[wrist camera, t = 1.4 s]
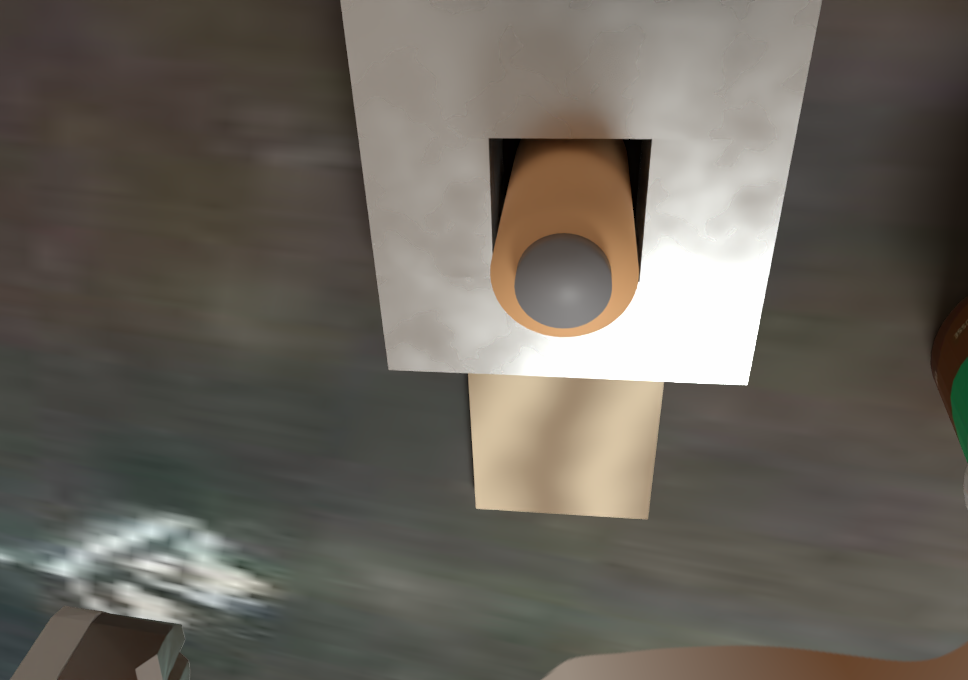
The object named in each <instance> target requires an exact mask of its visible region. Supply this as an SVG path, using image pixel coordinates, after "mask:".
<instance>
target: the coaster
mask: <svg viewBox="0 0 968 680" xmlns="http://www.w3.org/2000/svg"><path fill="white" fill-rule="evenodd" d="M468 381H469V398H470V415H471V432H472V448H473V465H474V482H475V499H476V509H491V510H507V511H522V512H538V513H554V514H570V515H586V516H602V517H618V518H634V519H648V513H649V504H650V496H651V487H652V479H653V470H654V462H655V453H656V445H657V437H658V428H659V420H660V411H661V403H662V394H663V386H664V381H642V380H618V379H594V378H571V377H547V376H523V375H499V374H475V373H468Z"/></svg>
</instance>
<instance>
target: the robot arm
mask: <svg viewBox="0 0 968 680" xmlns="http://www.w3.org/2000/svg"><path fill="white" fill-rule="evenodd" d="M184 641H185V637H184V633H183V628H182V625H181V624H174V623H168V622H162V621H155V620H149V619H142V618H136V617H129V616H123V615H116V614H110V613H107V612H103V611H96V610H89V609H82V608H75V607H68V606H64V607H63V608H62V609H60V610H59V611H58V612H57V613H56V614H55V615H54V616H53V617H52V618H51V619H50V620H49V622H48V623H47V625H46V626H45V628H44V629H43V631H42V632H41V634H40V635H39V637H38V638H37V640H36V641H35V643H34V644H33V646H32V647H31V649H30V650H29V652H28V653H27V655H26V656H25V658H24V659H23V661H22V662H21V664H20V665H19V667H18V668H17V670H16V671H15V673H14V674H13V676H12V677H11V679H10V680H190V666H189V660H188V659H187V658H186V657H185V656H183V655H182V654H181V653H180V650H181V648H182V646H183V643H184Z"/></svg>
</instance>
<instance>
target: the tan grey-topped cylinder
mask: <svg viewBox="0 0 968 680" xmlns="http://www.w3.org/2000/svg"><path fill="white" fill-rule="evenodd" d="M490 278H491V284H492V288H493V291H494V294H495V296H496V298H497V300H498V302H499V304H500V305H501V307H502V308H503V309H504V310H505V312H506V313H507V314H508V315H509V316H510V317H511V318H512V319H514V320H515V321H516V322H518V323H519V324H521V325H522V326H524V327H526V328H527V329H530V330H532V331H534V332H537V333H540V334H543V335H548V336H553V337H576V336H582V335H587V334H590V333H593V332H596V331H598V330H600V329H602V328H604V327H606V326H608V325H609V324H611V323H612V322H614V321H615V320H616V319H617V318H618V317H620V316H621V315H622V313H623V312H624V311H625V310H626V309H627V307H628V306H629V304H630V303H631V301H632V299H633V297H634V295H635V292H636V289H637V286H638V279H639V266H638V256H637V245H636V235H635V225H634V215H633V205H632V195H631V185H630V175H629V164H628V155H627V150H626V146H625V143H624V141H623V139H548V138H521V140H520V142H519V144H518V147H517V150H516V154H515V158H514V163H513V167H512V172H511V176H510V180H509V185H508V189H507V194H506V198H505V202H504V207H503V211H502V216H501V220H500V224H499V229H498V233H497V237H496V242H495V246H494V251H493V255H492V260H491V265H490Z"/></svg>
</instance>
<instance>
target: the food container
mask: <svg viewBox="0 0 968 680" xmlns="http://www.w3.org/2000/svg"><path fill="white" fill-rule="evenodd" d="M931 369H932V374H933V378H934V380H935V383H936V385H937V388H938V390H939V393H940V395H941V398H942V400H943V403H944V405H945V408H946V410H947V413H948V415H949V418H950V420H951V423H952V425H953V427H954V430H955V432H956V435H957V437H958V440H959V442H960V445H961V447H962V450H963V452H964V455H965V457H966V460H967V462H968V296H966V297H965V298H964V299H963V300H962V301H961V302H959V304H958V305H957V306H956V307H955V308H954V309H953V310H952V311H951V312H950V313H949V315H948V316H947V318H946V319H945V321H944V322H943V324H942V325H941V327H940V329H939V331H938V333H937V335H936V337H935V340H934V344H933V348H932V352H931ZM963 489H964V496H965V503H966V506H967V509H968V465H967V468H966V471H965V478H964V488H963Z"/></svg>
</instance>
